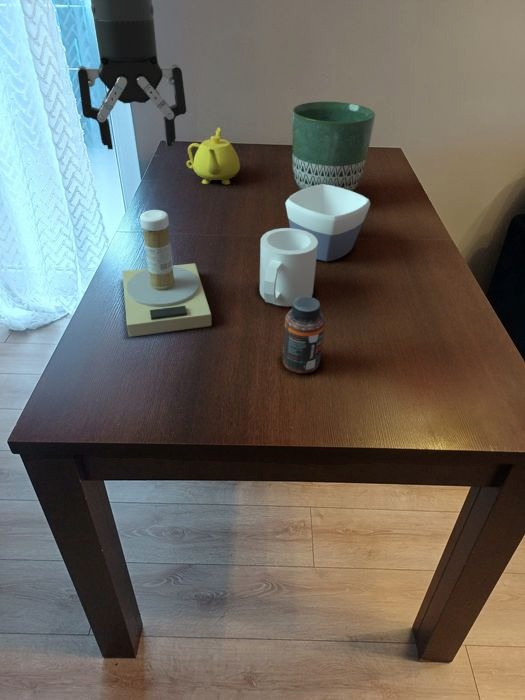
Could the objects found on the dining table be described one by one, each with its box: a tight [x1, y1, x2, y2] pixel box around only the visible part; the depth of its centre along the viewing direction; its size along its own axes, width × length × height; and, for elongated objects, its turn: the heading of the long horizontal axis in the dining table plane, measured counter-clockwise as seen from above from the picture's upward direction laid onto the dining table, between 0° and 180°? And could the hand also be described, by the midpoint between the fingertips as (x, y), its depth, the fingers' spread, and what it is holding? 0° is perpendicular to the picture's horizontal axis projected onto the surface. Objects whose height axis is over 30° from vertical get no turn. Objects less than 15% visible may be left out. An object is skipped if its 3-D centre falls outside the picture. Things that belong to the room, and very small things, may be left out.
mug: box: [259, 227, 318, 307], centre depth 90 cm, size 14×10×11 cm
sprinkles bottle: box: [139, 209, 175, 290], centre depth 86 cm, size 5×5×13 cm
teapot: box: [186, 126, 241, 185], centre depth 136 cm, size 20×15×12 cm
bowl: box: [285, 184, 371, 262], centre depth 105 cm, size 15×15×11 cm
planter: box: [291, 101, 376, 192], centre depth 124 cm, size 20×20×21 cm
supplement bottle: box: [282, 296, 326, 374], centre depth 75 cm, size 6×6×11 cm
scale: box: [121, 262, 213, 338], centre depth 90 cm, size 14×18×3 cm
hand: (139, 146), depth 73 cm, fingers open, 8 cm apart
